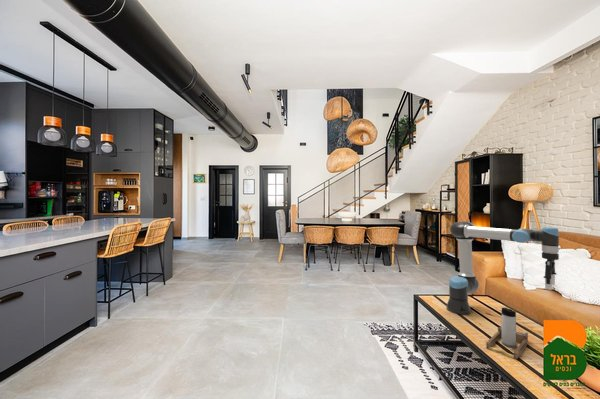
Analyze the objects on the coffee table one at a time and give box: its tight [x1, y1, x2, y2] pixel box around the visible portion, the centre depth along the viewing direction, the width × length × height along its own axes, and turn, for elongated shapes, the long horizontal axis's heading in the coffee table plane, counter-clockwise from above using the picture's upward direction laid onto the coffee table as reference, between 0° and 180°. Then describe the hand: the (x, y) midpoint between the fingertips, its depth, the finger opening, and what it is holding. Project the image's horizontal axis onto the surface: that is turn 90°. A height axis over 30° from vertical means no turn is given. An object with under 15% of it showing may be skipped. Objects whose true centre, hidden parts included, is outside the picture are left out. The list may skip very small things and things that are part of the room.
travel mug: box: [501, 307, 517, 349], centre depth 144 cm, size 6×7×20 cm
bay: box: [485, 326, 529, 360], centre depth 144 cm, size 13×27×5 cm, turn 128°
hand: (550, 287), depth 159 cm, fingers open, 13 cm apart
